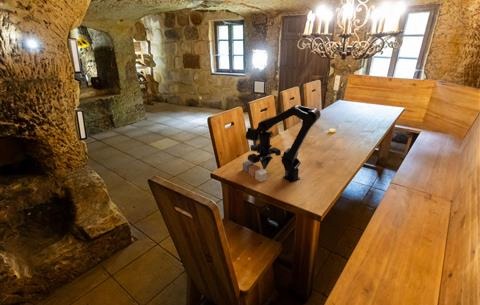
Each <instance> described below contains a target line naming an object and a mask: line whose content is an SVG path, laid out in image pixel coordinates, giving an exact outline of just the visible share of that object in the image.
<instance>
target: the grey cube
mask: <svg viewBox="0 0 480 305" xmlns="http://www.w3.org/2000/svg"><path fill="white" fill-rule="evenodd" d="M252 165H255V163H252V162H251V161H249V160H246V161H243V162H242V171H243V172H244V173H248V174H249V166H252Z"/></svg>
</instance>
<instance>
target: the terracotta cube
mask: <svg viewBox="0 0 480 305" xmlns="http://www.w3.org/2000/svg"><path fill="white" fill-rule="evenodd" d="M260 169H261V167H260V166H259V165H257V163H254V165H252V166H249V172H248V175H250V176H251V177H252V178H255V171H257V170H260Z"/></svg>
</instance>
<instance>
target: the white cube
mask: <svg viewBox="0 0 480 305" xmlns="http://www.w3.org/2000/svg"><path fill="white" fill-rule="evenodd" d="M254 178H255V180H256V181H258V182H259V183H262V182H264V181H265V182H266V180H268V171H266V169H263V168H260V170H257V171H255V177H254Z"/></svg>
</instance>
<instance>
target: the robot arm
mask: <svg viewBox="0 0 480 305" xmlns="http://www.w3.org/2000/svg"><path fill="white" fill-rule="evenodd" d="M321 115H322V114H321V112H320V110H319V109H318V108H315V107H314V108H311V107H307V106H302V105H298V104H294V105H293V106H291V107H290V108H288V109H286V110H284V111H283V112H280V113H278V114H276V115H275V116H270V117H267V118H265V119H263V120H261V121H259V122H258V123H257V127H256V128H253V127H247V131H246V133H245V139H246V140H247V141H251V142H258V141H259V143H257V144H256V145H255V144H251V145H250V151H251V152H256V153H257V154H256V153H250V154H249V155H247V161H251V162H252V163H254V164H257V163H259V162H260V165H261V167H262V169H263V170H266V169H267V167H268V165H269V164H270V162H271V161H272V160H273V159H274V158H273V157H272V155H275V156H276V157H278V156H281V155H282V156H281V158H280V159H281V164H282V165H283V169H284V176H282V178H283V179H285V180H286V181H288V182H289V183H293V182H297V181H298V180H301V177H299V170H300V169H299V167H300V165H301V161H300V160H299V159H298V155H299V150H300V148H301V146H302V145H303V143H304V142H305V139H306V137H307V135H308V134H309V132H310V130H311V129H312V127H313V126H314V125H315V124H316V123H317V121H319V119H320V118H321ZM292 116H295V117H296V118H298V119H299V120H301V127H300V129H299V131H298V133H297V135H296V137H295V139H294V140H293V143H292V144H291V146H290V147H288V148H287V149H286V150H284V151H283V154H282V150H280V148H277V147H275V146H274V147H273V145H272V144H271V138H272V137H274V136H275V133H274V132H273V131H272V130H270V129H272V128H273V127H274V126H276V125H277V124H279V123H281V122H283V121H285V120H287V119H289V118H291V117H292ZM269 130H270V131H269Z"/></svg>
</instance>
